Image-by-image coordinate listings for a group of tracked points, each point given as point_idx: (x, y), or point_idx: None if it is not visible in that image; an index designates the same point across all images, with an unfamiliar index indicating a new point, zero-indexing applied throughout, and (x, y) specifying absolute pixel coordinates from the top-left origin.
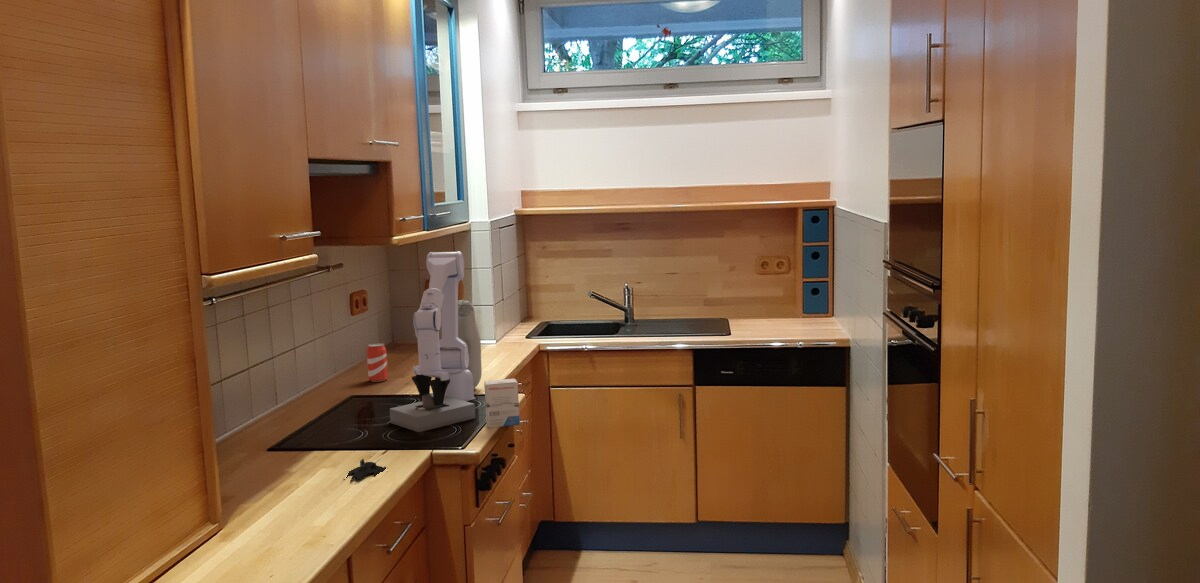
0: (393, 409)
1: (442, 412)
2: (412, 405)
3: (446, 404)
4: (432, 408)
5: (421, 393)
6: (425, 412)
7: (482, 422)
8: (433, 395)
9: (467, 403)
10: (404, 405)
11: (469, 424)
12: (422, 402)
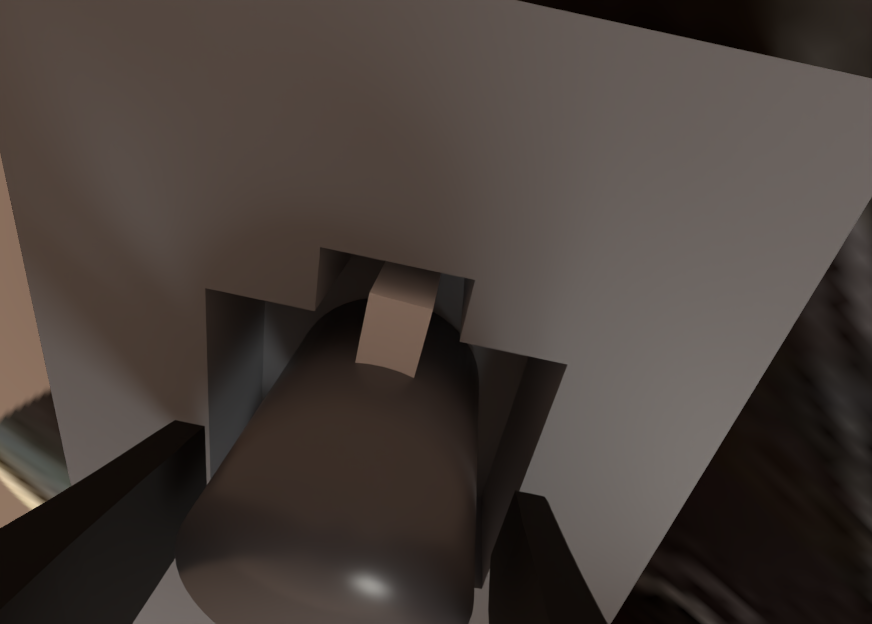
0: (806, 73)
1: (53, 336)
2: (634, 394)
3: None
4: (272, 392)
5: (535, 601)
6: (151, 201)
7: (35, 467)
8: (80, 527)
9: (156, 621)
10: (758, 351)
11: (49, 398)
12: (420, 428)
